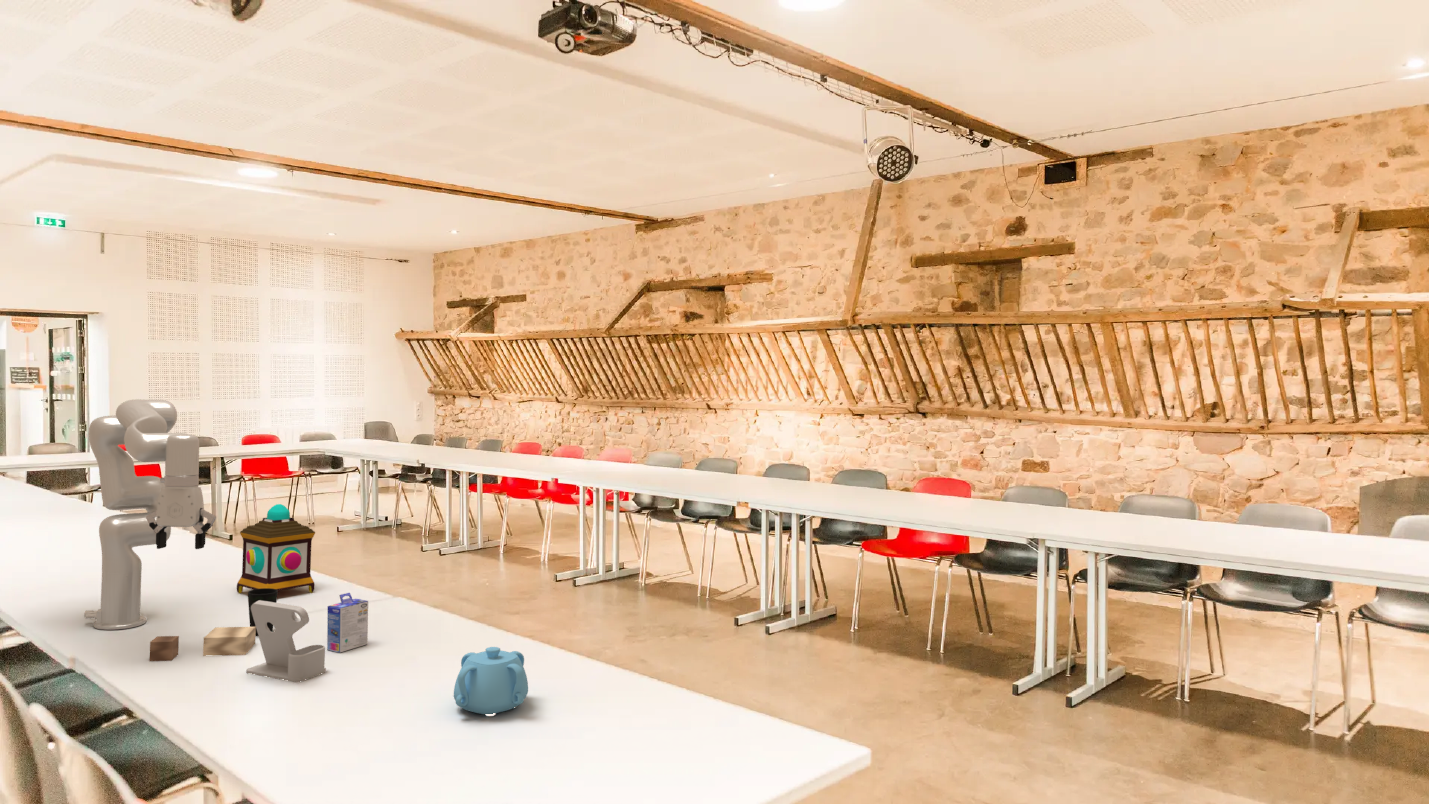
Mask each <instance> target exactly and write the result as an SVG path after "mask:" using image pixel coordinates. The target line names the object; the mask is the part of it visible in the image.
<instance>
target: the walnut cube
mask: <svg viewBox="0 0 1429 804" xmlns="http://www.w3.org/2000/svg"><path fill="white" fill-rule="evenodd" d="M179 644H180V636H179V635H165V636H162V635H159V636H155V638H153V639H152V640H150V642H149V660H148V661H149V662H169V661H170V662H172V661H173V660H174V659H176V657H177V655H178V656H179Z"/></svg>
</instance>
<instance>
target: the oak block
mask: <svg viewBox="0 0 1429 804" xmlns="http://www.w3.org/2000/svg"><path fill="white" fill-rule="evenodd" d="M256 638H257V636H256V627H250V626H227V627H224V626H223V627H222V626H221V627H219V626H218V627H214V628H213V629H212V630H211V631H210V632H208V634H206V635H205V636H203V644H202V645H203V646H202V647H203V649H202V656H203V657H207V656H206V655H222V656H246V653H247V652H248V653H249V651H250V650H251V649H253V647H254V646H255V645H256ZM254 644H255V645H254ZM253 645H254V646H253ZM248 653H247V654H248Z"/></svg>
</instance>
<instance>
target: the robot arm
mask: <svg viewBox="0 0 1429 804" xmlns="http://www.w3.org/2000/svg"><path fill="white" fill-rule="evenodd" d="M177 420H178V412H177V408H176V407H175V405H174V404H173V403H172V402H170V400H167V399H166V400H165V399H139V398H138V399H137V398H136V399H129V400H126V401H123V402H122V403H120V404H119V405H118V406H117V407H116V410H115V415H103V416H100V417H97V418H94V419H93V420H92V421H91V422H90V425H89V428H88V443H89V445H90V448H91V451H92V453H93V455H94V457H95V459H96V460H95V461H96V462H97V466H98V473H99V474H98V475H99V480H100V481H99V482H100V483H99V485H100V491H101V501H102V504H103V506H104V508H106V509H107V510H111V511H127V510H128V511H129V510H143V509H144V510H145V511H146V512H133V513H121V514H113V515H110V516H107V517H106V518H104V519H102V521H101V522H100V524H99V526H98V534H99V535H98V536H99V541H100V547H101V549H100V550H101V586H100V587H101V588H100V590H101V591H100V592H101V593H100V608H99V609H97V610H85V611H84V613H83V614H84V615H83V616H84V618H85V619H95V621H94V622H93V626H92V627H93V628H95V629H98V630H104V631H105V630H106V631H110V630H111V631H112V630H124V629H130V628H136V627H139V626H142V625H144V624H145V623H146V622H147V617H146V616H145V615H141V602H142V601H141V596H142V594H141V593H142V570H143V569H142V568H143V567H142V565H143V564H142V560H141V557H139V555H138V554H137V553H136V552H135V551H134V550H133V548H136V547H143V546H154V545H156V549H157V550H160V549H164V548H166V547H167V542H168V540H169V539H170V538H171V534H172V527H173V528H175V527H176V528H177V527H178V528H187V527H188V528H190V527H192V528H193V529H194V530H195V531H196V533H195V535H194V537H195V538H194V549H195V550H200V549H203V548H204V547H205V545H206V533H207V532H209V530H210V529H211V528H212V527H213V526H214V522H215V521H216V520H217V515H215V514H213V513H211V512H209V511H207V510H205V504H204V496H203V490H202V487H200V486H199V474H200V473H199V472H200V469H199V468H200V439H199V437H198V436H197V435H195V434H188V433H186V432H185V433H184V432H170V431H171V430H172V429H173V428H174V426H175V425H176V422H177ZM120 445H121V446H123V445H124V447H125V449H123V448H122V447H121V446H120ZM133 459H134V460H136V461H137V462H142V463H153V462H154V463H155V462H158V463H159V462H165V463H164V465H165V467H164V477H159V476H154V475H144V476H143V475H142V476H140V475H139V476H137V474H136V472H135V471H136V470H135V463H134V460H133ZM205 518H206V520H207V521H206V523H205V524H204V520H205Z"/></svg>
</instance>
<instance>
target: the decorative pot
mask: <svg viewBox="0 0 1429 804" xmlns="http://www.w3.org/2000/svg"><path fill="white" fill-rule="evenodd" d="M460 664H461V665H460V666H461V668H460V671H459V673H458V674H457V677H456V679H455V683H454V688H453V699H454V701H455V704H456V706H457V707H459V708H461V709H463V710H466V711H468V712H473V713H475V714H481V715H484V714H493V713H496V714H498V713H502V712H506V711H509V710H512V708H513V709H515V708H514V707H516V706H517V707H518V706H520V705H522V703H523V702H524V701H525V699H526V697H527V696H528V693H529V682H528V677H527V676H528V675H527V673H526V670H525V668H524V667H525V666H524V664H525V657H524V654H523V653H522V652H520V651H517V650H515V651H514V650H513V651H506V650H501V648H500V647H498V646H489V647H486V648H485V651H481V652H477V653H476V652H467V653H465V654H464V655H463V656H462V657H461V660H460ZM517 707H516V708H517Z"/></svg>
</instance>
